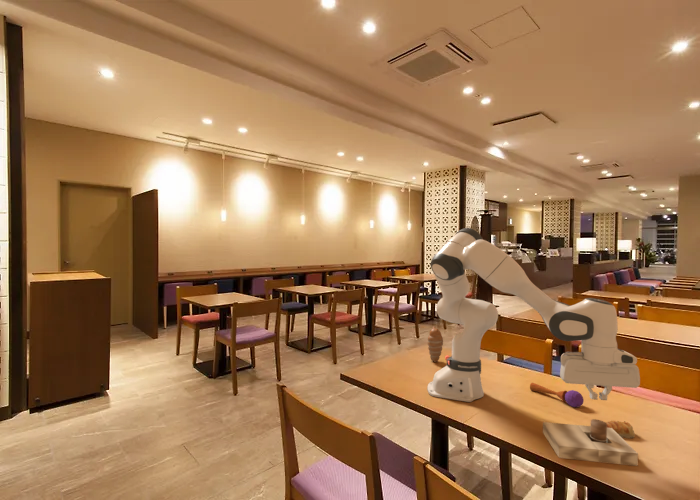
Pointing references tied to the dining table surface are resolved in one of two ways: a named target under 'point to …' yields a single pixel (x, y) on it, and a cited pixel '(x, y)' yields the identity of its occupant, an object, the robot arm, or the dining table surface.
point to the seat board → (588, 444)
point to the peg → (598, 431)
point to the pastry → (621, 428)
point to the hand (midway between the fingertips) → (598, 399)
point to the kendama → (561, 395)
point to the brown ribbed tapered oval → (435, 344)
